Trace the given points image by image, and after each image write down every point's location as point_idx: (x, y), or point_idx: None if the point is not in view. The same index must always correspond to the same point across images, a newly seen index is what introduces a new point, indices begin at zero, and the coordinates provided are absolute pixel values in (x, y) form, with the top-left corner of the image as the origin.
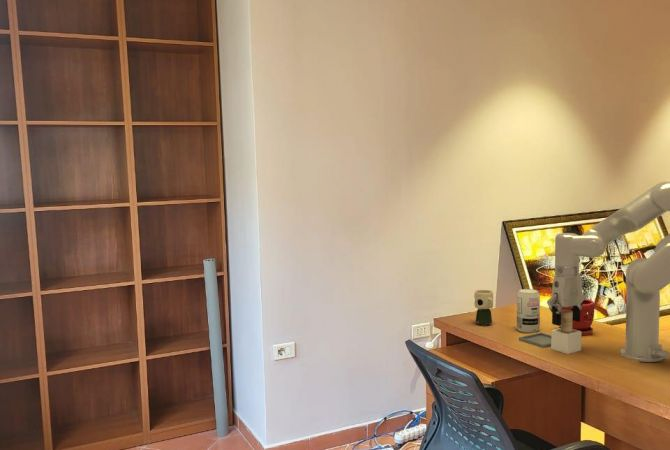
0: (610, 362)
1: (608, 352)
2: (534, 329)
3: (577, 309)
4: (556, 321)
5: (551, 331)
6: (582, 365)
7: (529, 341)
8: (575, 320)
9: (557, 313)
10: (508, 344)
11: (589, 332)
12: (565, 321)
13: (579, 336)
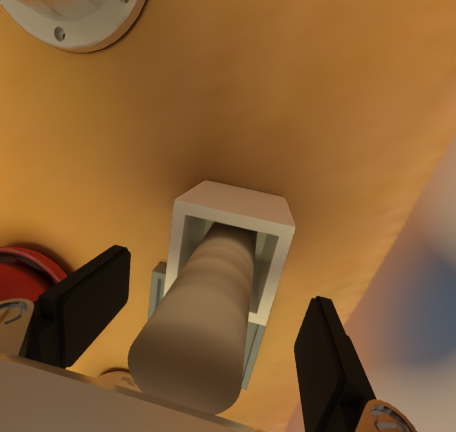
0: (250, 5)
1: (130, 96)
2: (129, 383)
3: (50, 320)
4: (350, 341)
5: (266, 319)
6: (378, 79)
7: (257, 352)
8: (127, 272)
9: (406, 417)
10: (295, 387)
11: (18, 248)
12: (246, 300)
13: (197, 196)
